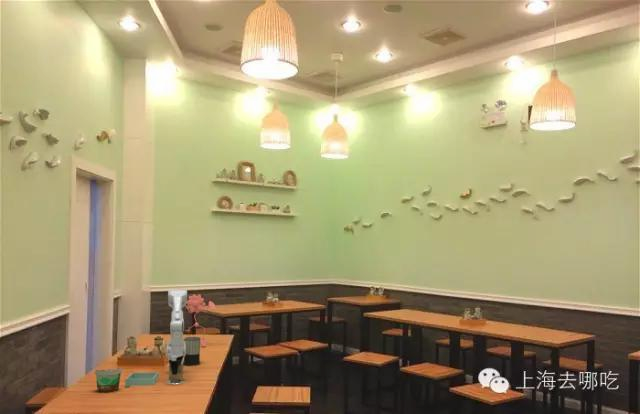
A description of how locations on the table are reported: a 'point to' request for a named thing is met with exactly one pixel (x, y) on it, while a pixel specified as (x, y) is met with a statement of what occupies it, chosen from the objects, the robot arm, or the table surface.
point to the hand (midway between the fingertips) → (175, 372)
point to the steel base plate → (175, 383)
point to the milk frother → (192, 351)
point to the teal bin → (141, 379)
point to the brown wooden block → (177, 377)
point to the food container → (108, 380)
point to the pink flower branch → (198, 309)
